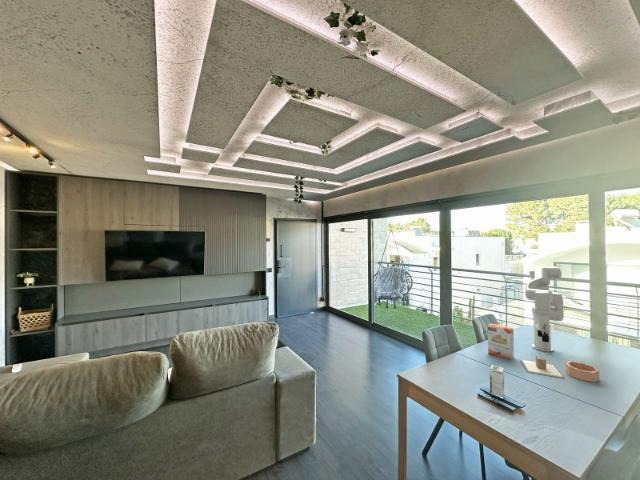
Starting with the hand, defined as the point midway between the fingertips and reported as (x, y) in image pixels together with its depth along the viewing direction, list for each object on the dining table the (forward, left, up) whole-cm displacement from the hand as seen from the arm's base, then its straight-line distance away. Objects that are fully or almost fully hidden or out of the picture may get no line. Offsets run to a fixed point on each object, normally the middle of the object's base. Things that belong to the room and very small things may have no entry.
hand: (543, 339), depth 161 cm
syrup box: (+43, -30, -20) cm, 56 cm away
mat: (-1, -1, -20) cm, 20 cm away
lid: (-1, -1, -19) cm, 19 cm away
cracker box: (-14, -20, -20) cm, 31 cm away
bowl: (-1, +18, -20) cm, 27 cm away
